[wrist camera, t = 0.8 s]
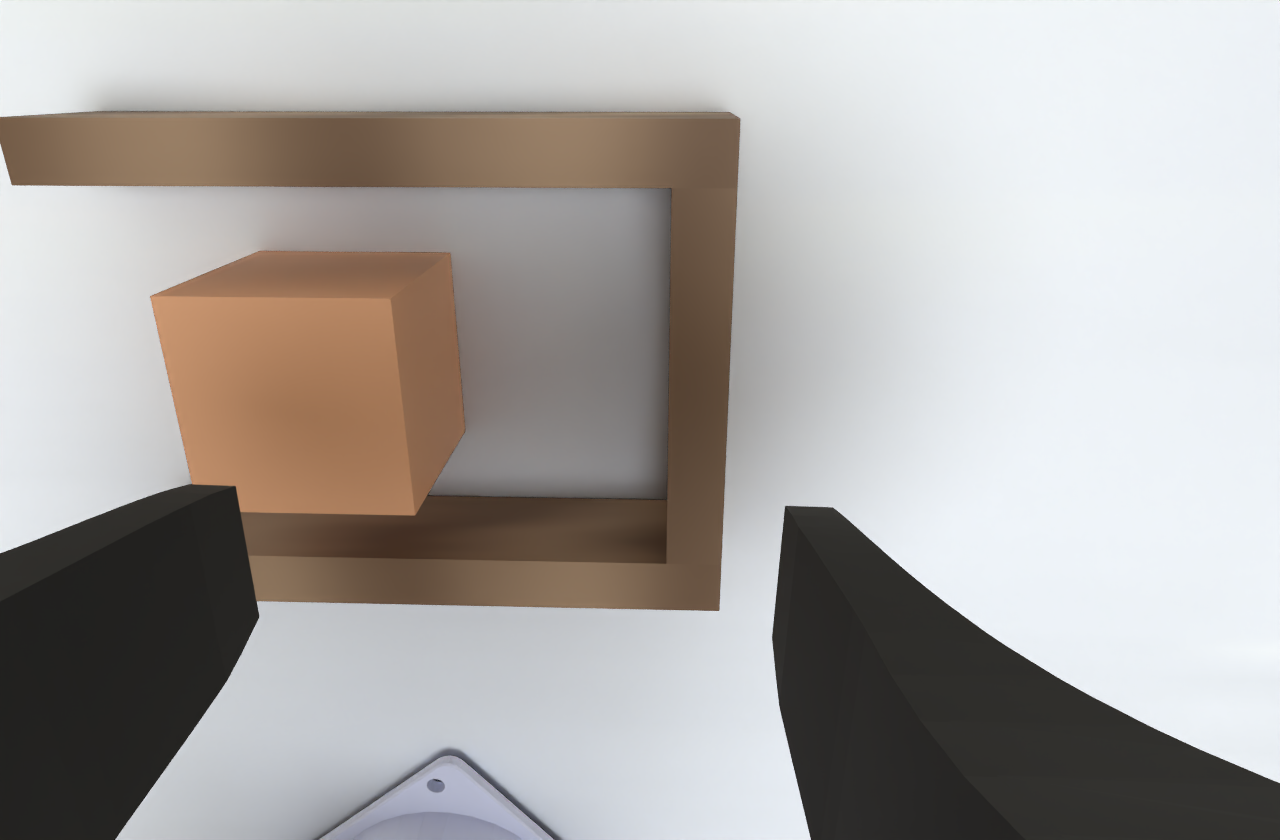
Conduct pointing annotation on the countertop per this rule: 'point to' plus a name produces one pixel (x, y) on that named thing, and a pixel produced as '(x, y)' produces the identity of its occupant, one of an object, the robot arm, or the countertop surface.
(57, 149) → the wooden frame
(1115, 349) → the countertop surface
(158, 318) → the terracotta block
